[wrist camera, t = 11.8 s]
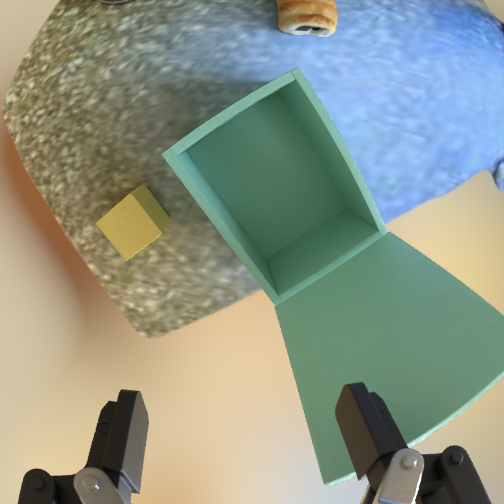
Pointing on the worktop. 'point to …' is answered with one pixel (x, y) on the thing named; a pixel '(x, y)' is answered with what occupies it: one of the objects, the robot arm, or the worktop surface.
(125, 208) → the block
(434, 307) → the lid
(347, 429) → the robot arm
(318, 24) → the pastry
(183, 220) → the worktop surface
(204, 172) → the cool box
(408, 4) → the worktop surface
